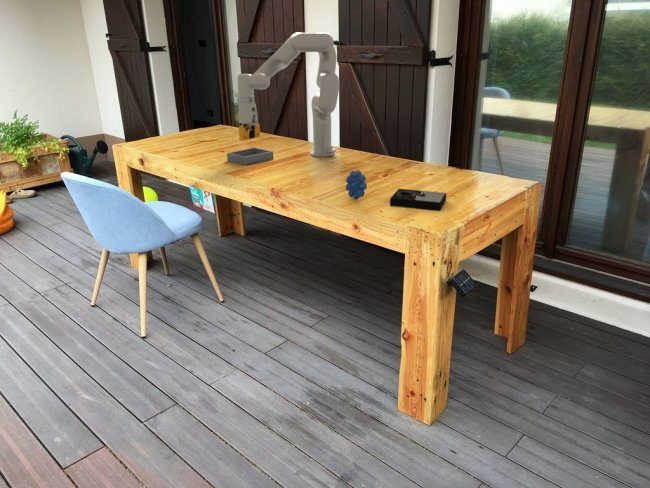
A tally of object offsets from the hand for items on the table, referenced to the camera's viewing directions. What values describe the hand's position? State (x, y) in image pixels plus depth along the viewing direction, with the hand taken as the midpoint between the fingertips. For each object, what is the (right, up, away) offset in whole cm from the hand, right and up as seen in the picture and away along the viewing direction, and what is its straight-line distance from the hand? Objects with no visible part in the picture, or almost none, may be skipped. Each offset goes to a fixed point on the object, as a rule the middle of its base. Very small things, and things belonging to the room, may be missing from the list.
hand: (248, 137), depth 267 cm
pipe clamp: (0, -1, 0) cm, 1 cm away
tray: (0, -11, +4) cm, 12 cm away
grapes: (+51, -36, -58) cm, 86 cm away
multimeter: (+74, -39, -64) cm, 105 cm away
